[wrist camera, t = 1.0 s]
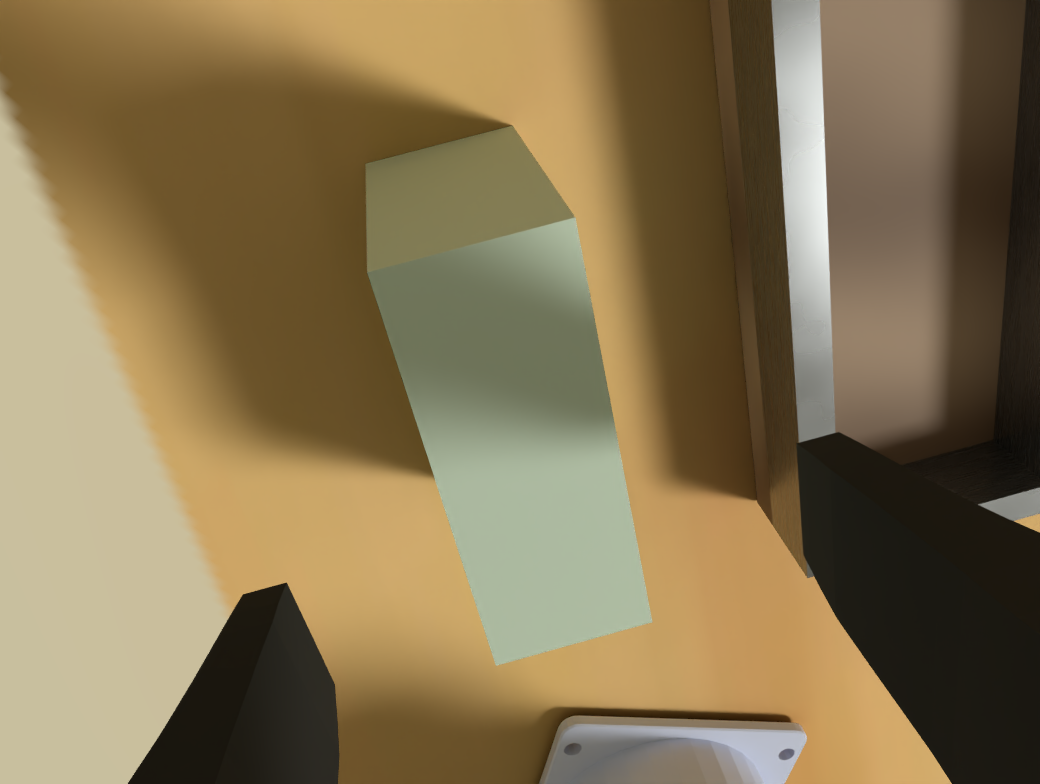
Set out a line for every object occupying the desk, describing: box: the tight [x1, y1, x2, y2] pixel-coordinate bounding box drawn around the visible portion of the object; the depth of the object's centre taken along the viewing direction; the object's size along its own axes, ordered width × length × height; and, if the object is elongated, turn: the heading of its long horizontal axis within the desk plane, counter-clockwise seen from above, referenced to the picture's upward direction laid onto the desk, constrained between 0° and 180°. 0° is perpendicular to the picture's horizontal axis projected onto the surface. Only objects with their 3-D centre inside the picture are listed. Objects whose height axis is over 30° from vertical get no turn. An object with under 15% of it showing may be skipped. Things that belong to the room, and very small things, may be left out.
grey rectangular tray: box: [709, 0, 1040, 578], centre depth 18 cm, size 14×7×3 cm, turn 13°
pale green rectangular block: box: [365, 126, 652, 666], centre depth 17 cm, size 8×3×6 cm, turn 13°
